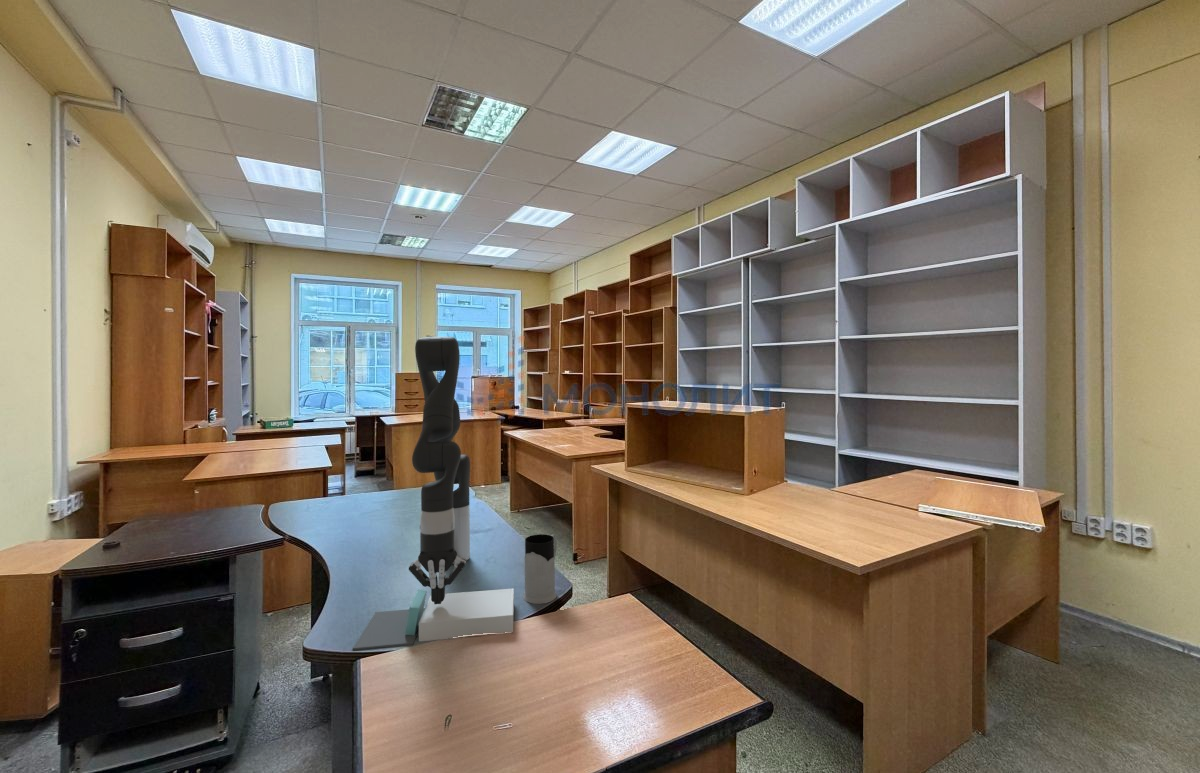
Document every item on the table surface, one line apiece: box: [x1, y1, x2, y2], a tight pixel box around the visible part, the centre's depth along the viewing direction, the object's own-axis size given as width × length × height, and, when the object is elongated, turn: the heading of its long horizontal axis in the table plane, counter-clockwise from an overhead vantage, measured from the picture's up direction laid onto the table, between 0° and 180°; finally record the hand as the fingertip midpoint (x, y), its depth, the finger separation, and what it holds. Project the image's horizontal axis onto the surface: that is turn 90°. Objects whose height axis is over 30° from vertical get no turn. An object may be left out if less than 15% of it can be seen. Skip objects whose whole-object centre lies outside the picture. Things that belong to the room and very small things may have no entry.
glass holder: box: [522, 533, 558, 605], centre depth 126 cm, size 9×14×15 cm, turn 160°
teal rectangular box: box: [405, 589, 428, 635], centre depth 108 cm, size 9×6×2 cm
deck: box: [418, 588, 515, 642], centre depth 110 cm, size 14×20×4 cm
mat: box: [352, 607, 425, 651], centre depth 108 cm, size 16×12×1 cm
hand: (438, 602), depth 109 cm, fingers closed
